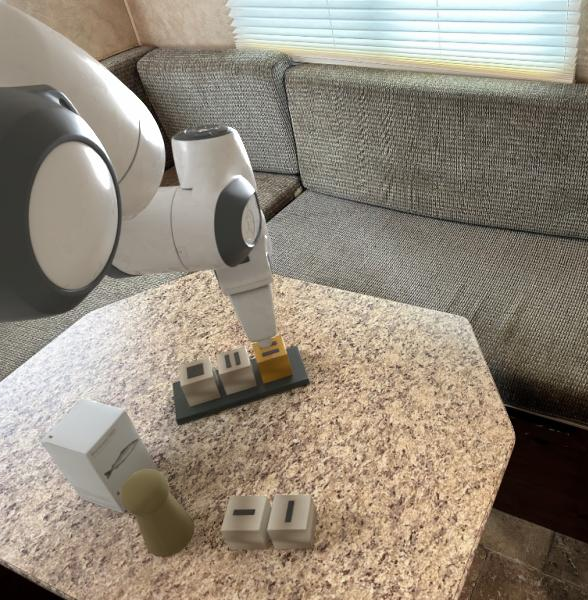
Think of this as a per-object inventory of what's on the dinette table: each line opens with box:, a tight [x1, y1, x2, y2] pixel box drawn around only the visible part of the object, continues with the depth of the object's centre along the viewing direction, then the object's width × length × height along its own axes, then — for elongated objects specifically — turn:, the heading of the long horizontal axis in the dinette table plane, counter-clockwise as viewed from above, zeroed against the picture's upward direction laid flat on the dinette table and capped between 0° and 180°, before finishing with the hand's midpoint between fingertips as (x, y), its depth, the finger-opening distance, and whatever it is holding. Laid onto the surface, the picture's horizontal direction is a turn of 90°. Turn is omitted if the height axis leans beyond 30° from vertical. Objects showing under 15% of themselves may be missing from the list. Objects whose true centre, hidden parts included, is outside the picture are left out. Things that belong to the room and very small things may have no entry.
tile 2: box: [215, 345, 257, 395], centre depth 92 cm, size 5×5×5 cm
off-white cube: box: [220, 494, 272, 551], centre depth 73 cm, size 5×5×5 cm
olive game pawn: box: [120, 469, 196, 558], centre depth 72 cm, size 6×6×11 cm
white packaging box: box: [40, 397, 158, 514], centre depth 78 cm, size 7×7×13 cm
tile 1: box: [178, 356, 221, 407], centre depth 91 cm, size 5×5×5 cm
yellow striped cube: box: [252, 335, 293, 383], centre depth 93 cm, size 5×5×5 cm
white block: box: [267, 493, 318, 550], centre depth 73 cm, size 5×5×5 cm
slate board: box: [172, 345, 311, 426], centre depth 94 cm, size 20×8×1 cm, turn 110°
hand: (259, 323), depth 88 cm, fingers open, 8 cm apart
